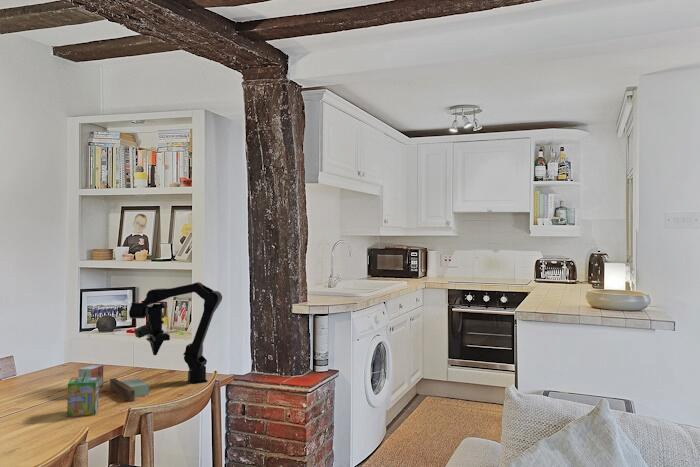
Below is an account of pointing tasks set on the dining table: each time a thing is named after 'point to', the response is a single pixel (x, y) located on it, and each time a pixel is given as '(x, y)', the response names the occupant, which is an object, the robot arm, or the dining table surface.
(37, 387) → the dining table surface
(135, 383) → the sage block
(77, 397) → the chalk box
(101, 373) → the small box
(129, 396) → the walnut board
